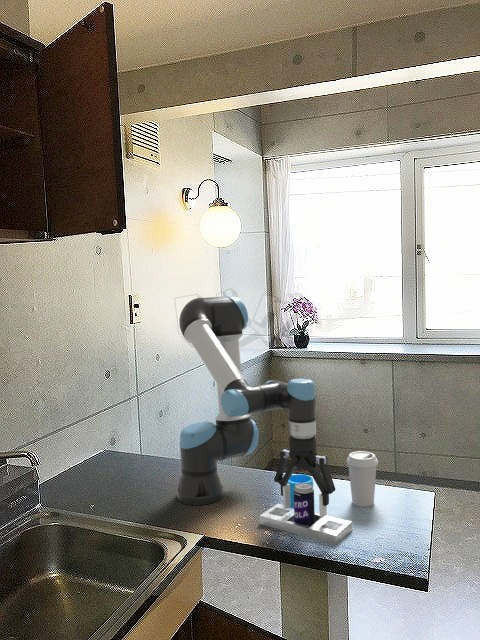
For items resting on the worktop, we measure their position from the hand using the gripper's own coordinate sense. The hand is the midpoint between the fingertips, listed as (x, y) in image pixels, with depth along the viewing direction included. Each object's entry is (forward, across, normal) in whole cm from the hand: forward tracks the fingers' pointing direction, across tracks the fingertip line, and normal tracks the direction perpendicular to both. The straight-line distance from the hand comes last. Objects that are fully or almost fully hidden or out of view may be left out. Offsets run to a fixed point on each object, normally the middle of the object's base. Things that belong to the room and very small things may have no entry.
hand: (304, 511), depth 158 cm
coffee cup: (+5, +7, +24) cm, 25 cm away
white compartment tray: (+4, 0, 0) cm, 4 cm away
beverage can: (+5, 0, 0) cm, 5 cm away
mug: (+5, -9, +15) cm, 18 cm away
